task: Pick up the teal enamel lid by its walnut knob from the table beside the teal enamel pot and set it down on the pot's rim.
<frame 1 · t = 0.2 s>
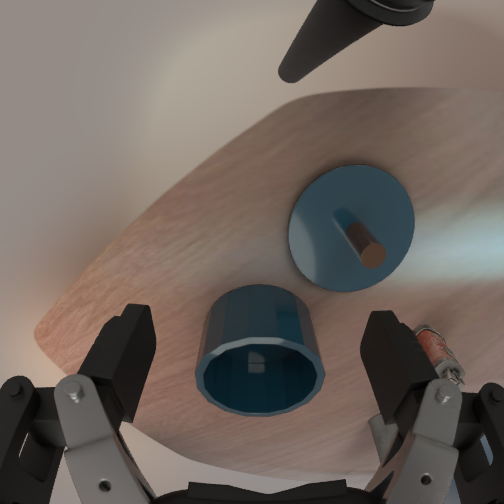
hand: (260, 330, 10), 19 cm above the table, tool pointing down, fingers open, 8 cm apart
pot lid: (354, 231, 29), point 1 cm above the table
hip flask: (407, 406, 44), on the table
pot: (258, 329, 35), on the table
lighter: (428, 337, 37), on the table
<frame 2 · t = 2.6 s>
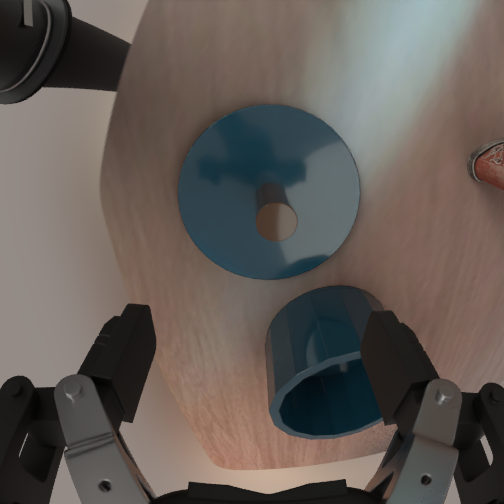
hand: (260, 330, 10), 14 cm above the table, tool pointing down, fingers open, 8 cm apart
pot lid: (270, 196, 22), point 1 cm above the table
pot: (327, 337, 29), on the table
lighter: (492, 157, 20), on the table
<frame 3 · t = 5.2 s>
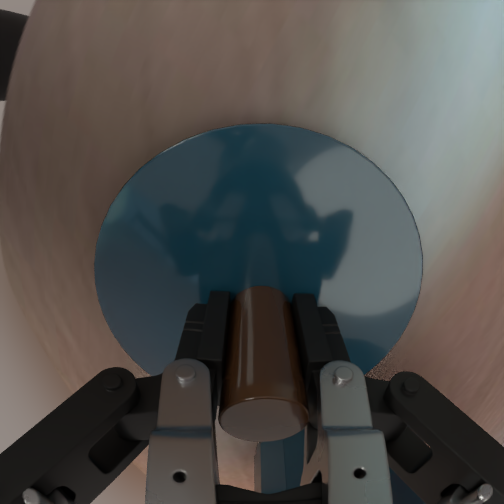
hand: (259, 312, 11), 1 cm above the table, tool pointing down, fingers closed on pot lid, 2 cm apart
pot lid: (260, 302, 12), point 1 cm above the table, touching gripper
pot: (337, 444, 19), on the table
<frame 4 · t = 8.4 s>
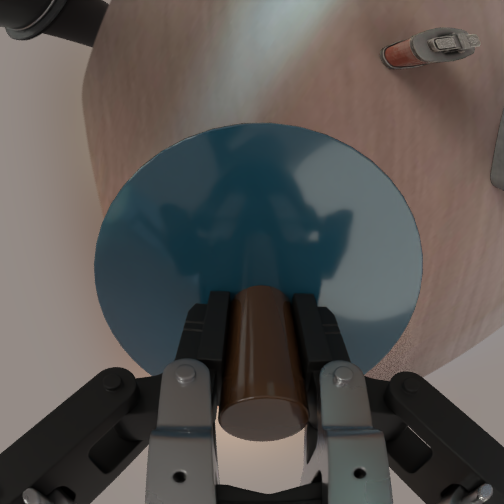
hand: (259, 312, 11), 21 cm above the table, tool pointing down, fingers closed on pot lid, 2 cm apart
pot lid: (260, 302, 12), point 21 cm above the table, touching gripper
lighter: (408, 54, 24), on the table
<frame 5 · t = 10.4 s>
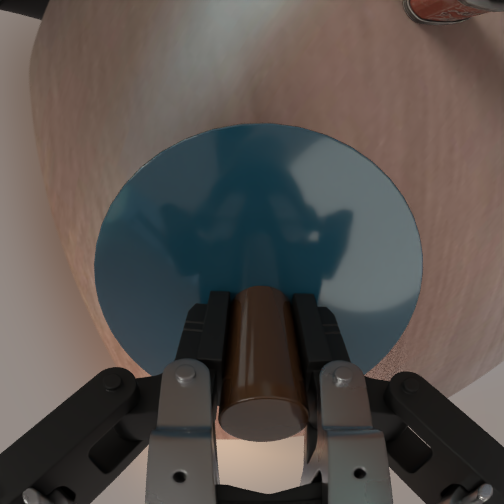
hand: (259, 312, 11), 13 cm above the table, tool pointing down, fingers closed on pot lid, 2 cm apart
pot lid: (260, 302, 12), point 12 cm above the table, touching gripper
lighter: (437, 9, 15), on the table
when the fingers open (9 cm above the table, at t = 11.7 s): pot lid stays where it is, resting on pot.
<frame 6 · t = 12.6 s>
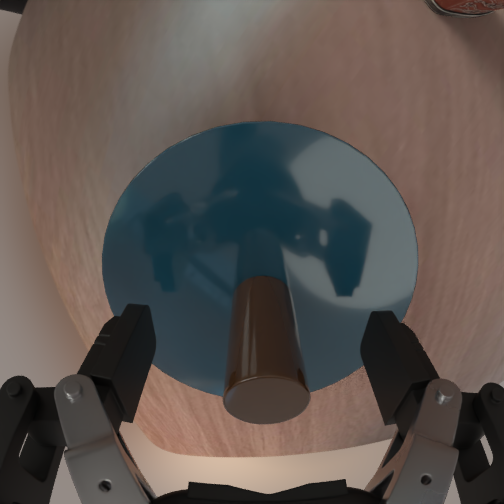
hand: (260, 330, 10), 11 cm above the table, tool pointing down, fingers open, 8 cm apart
pot lid: (261, 292, 12), point 8 cm above the table, touching pot
lighter: (457, 0, 12), on the table
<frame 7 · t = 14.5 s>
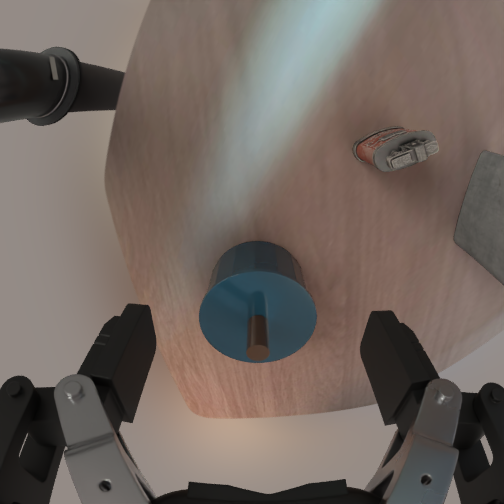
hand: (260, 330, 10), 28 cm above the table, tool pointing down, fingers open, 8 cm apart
pot lid: (257, 319, 34), point 8 cm above the table, touching pot
hip flask: (472, 197, 36), on the table
pot: (257, 282, 42), on the table
lighter: (380, 142, 33), on the table
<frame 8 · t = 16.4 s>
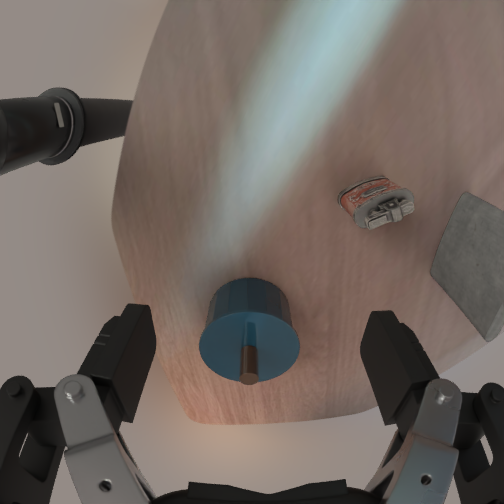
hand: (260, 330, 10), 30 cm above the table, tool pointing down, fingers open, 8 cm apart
pot lid: (249, 348, 39), point 8 cm above the table, touching pot
hip flask: (450, 235, 41), on the table
pot: (249, 311, 47), on the table
lighter: (363, 191, 39), on the table
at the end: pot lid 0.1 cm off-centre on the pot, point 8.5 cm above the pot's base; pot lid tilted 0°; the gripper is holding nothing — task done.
